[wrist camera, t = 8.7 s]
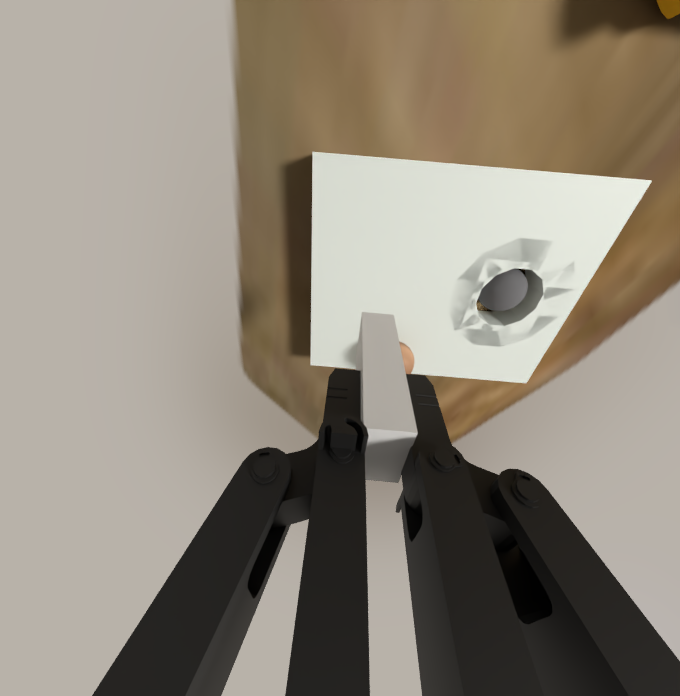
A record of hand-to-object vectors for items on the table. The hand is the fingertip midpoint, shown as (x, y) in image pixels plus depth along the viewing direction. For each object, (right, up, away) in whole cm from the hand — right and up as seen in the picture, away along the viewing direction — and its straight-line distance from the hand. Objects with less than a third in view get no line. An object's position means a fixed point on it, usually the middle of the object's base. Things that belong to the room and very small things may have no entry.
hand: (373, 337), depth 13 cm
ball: (+11, +4, +8) cm, 14 cm away
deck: (+6, +5, +9) cm, 12 cm away
